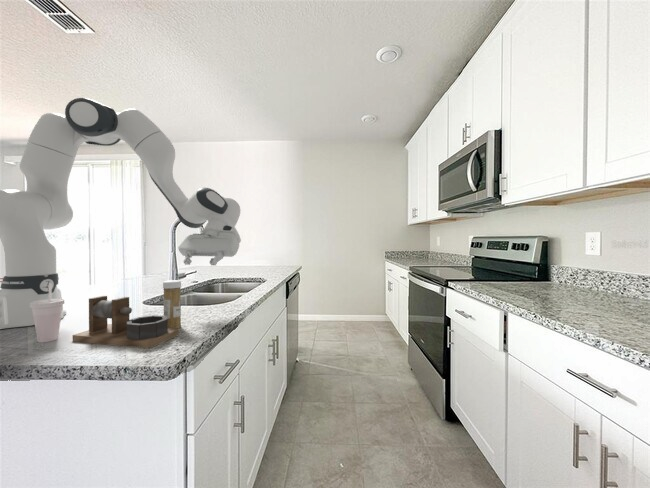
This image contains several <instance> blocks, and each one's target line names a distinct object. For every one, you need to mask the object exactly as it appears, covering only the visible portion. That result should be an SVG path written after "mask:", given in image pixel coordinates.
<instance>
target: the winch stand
mask: <svg viewBox="0 0 650 488" xmlns="http://www.w3.org/2000/svg"><path fill="white" fill-rule="evenodd" d="M132 312H133V309H132V307H130V296H124V297H118V298H114V299H113V298H112V299H111V300H108V295H100V296H95V297H89V298H88V330H85V331H82V332H79V333H75V334H72V342H74V343H75V342H77V343H85V344H86V343H88V344H96V345H97V344H100V345H108V346H119V347H129V348H130V347H131V348H140V349H151V348H153V347H155V346H157V345H160V344H162V343H165V342H167V341H168V340H171V339H173V338H175V337H178V336H179V334H180V333H179V331H180V330H179V329H180V328H178V329H168V319H167V317H166V316H164V315H158V314H156V315H153V314H152V315H146V316H137V317H134V318H131V319H130V314H131V313H132ZM108 319H111V323H108Z"/></svg>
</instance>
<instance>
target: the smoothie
mask: <svg viewBox="0 0 650 488" xmlns="http://www.w3.org/2000/svg"><path fill="white" fill-rule="evenodd" d="M64 304H65V299H64V298H62V299H52V283H49V299H46V300H38V301H34V302H31V303H30V307H31V308H32V313H33V318H34V323H35V325H34V328H35V335H36V337H37V343H49V342H54V341H56V340H58V338H59V333H60V327H61V320H62V318H61V314H62V307H63V308H64V306H63V305H64Z"/></svg>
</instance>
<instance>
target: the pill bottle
mask: <svg viewBox="0 0 650 488" xmlns="http://www.w3.org/2000/svg"><path fill="white" fill-rule="evenodd" d="M181 288H182V281H181V280H179V279H168V280H164V281H163V282H162V289H163V316H166V317H167V319H168V329H180V328H181V327H182V324H181V322H182V321H181V320H182V319H181V318H182V314H181V313H182V307H181V306H182V303H181V302H182V301H181Z"/></svg>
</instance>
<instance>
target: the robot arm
mask: <svg viewBox="0 0 650 488" xmlns="http://www.w3.org/2000/svg"><path fill="white" fill-rule="evenodd" d="M121 140H122V141H123V142H124V143H126V144H127V145H128V146H129V147H130V148H131V150H132V151H134V152H135V154H136V155H137V156H138V157H139V159H140V160H141V161H142V162H143V164H144V165H145V168H146V171H147V172H148V175H149V177H150V178H151V179H150V180H152V182H153V183H154V185H155V186H156V187H157V189H158V190H159V191H160V192H161V194H162V195H163V196H164V198H165V200H167V202H168V203H169V204H170V206H171V207H172V209H173V210H174V212H175V214H176V216H177V219H178V220H179V222H181V223H182V224H183V225H184V226H186V227H188V228H191V229H199V228H201V227H203V225H204V224H205V223H206V222H207V224H206V225H205V226H204V228H203V230H202V231H201V233H193V234H189V235H188V236H186V237H185V239H183V240H182V241H181V243H180V244H179V246H178V248H177V249H178V251H179V253H180V254H181V255H182V256H183V257H184V259H183V261H182V262H183V264H184V265H185V266H190V265H191V264H192V259H191V258H193V257H212V258H210V260H209V264H210V266H217V264H218V262H220V261H221V260H223V259H224V257H227V258H228V257H231V258H232V257H234V256H236V255H237V253H238V250H239V248H240V243H241V242H242V239H241V236H240V234H239V232H238V230H237V228H236V225H237V223H238V220H239V219H240V216H241V206H240V204H239V203H238V202H237V201H236V200H235V199H233V198H231V197H224V196H222V195H220V193H219V192H217V191H216V190H214V189H212V188H209V187H201V188H199V189H197V190H196V192H194V193H193V194H192V195H191V196H190V197H189V198H188V197H187V196H186V195H185V193H184V191H182V189H181V188H180V186H179V185H178V184H177V182H176V181H175V178H174V174H173V173H174V170H173V169H174V164H175V160H176V148H175V147H174V145H173V143H172V142H171V140H170V138H169V137H167V135H166V134H165V133H164V131H163V130H161V129H160V128H159V127H158V125H156V123H155V122H153V121H152V119H151V118H149V117H148V116H147V115H145V114H144V113H143V112H142V111H140V110H138V109H136V108H128V109H124V110H122V111H120V112H116V111H115V110H114V108H112V107H110V106H107V105H105V104H102V103H100V102H99V101H97V100H94V99H91V98H86V97H78V98H74V99H71V100H70V101H69V102H68V103H67V104H66V106H65V110H64V115H63V114H61V113H57V112H56V113H55V112H47V113H44V114H42V115H41V116H40V118H39V119H38V120H37V122H36V124H35V126H34V127H33V128H32V130H31V133H30V135H29V136H28V140H27V143H26V146H25V148H24V151H23V153H22V157H21V160H20V163H19V169H20V171H21V172H22V174H23V176H24V177H25V181H26V191H25V190H20V189H15V188H7V189H6V188H3V189H2V188H1V189H0V242H1V243H2V247H3V251H4V262H5V263H4V264H5V265H4V266H5V267H4V268H5V275H4V276H3V277H2V278H0V283H1V284H0V330H3V329H9V328H11V329H12V328H22V327H29V326H35V323H34V318H33V313H32V308H31V307H30V303H31V302H34V301H38V300H46V299H49V283H52V299H63V298H62V291H61V290H60V288H58V285H59V273H57V250H56V249H57V248H55V246H54V245H53V244H51V243H50V241H49V239H48V238H47V236H46V233H45V230H55V229H60V228H64V227H66V226H67V225H69V224H70V223H71V222H72V219H73V217H74V211H73V209H72V206H71V205H70V203H69V200H68V199H69V198H68V183H69V178H70V175H71V172H72V168H73V165H74V163H75V159H76V157H77V154H78V150H79V148H80V146H81V145H82V144H83V143H86V144H87V145H94V146H95V145H96V146H105V147H107V146H115V145H116V144H118V143H119V142H120V141H121ZM65 315H67V311H66V310H64V306H63V307H62V314H61V319H63V318H64V317H65Z"/></svg>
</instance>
